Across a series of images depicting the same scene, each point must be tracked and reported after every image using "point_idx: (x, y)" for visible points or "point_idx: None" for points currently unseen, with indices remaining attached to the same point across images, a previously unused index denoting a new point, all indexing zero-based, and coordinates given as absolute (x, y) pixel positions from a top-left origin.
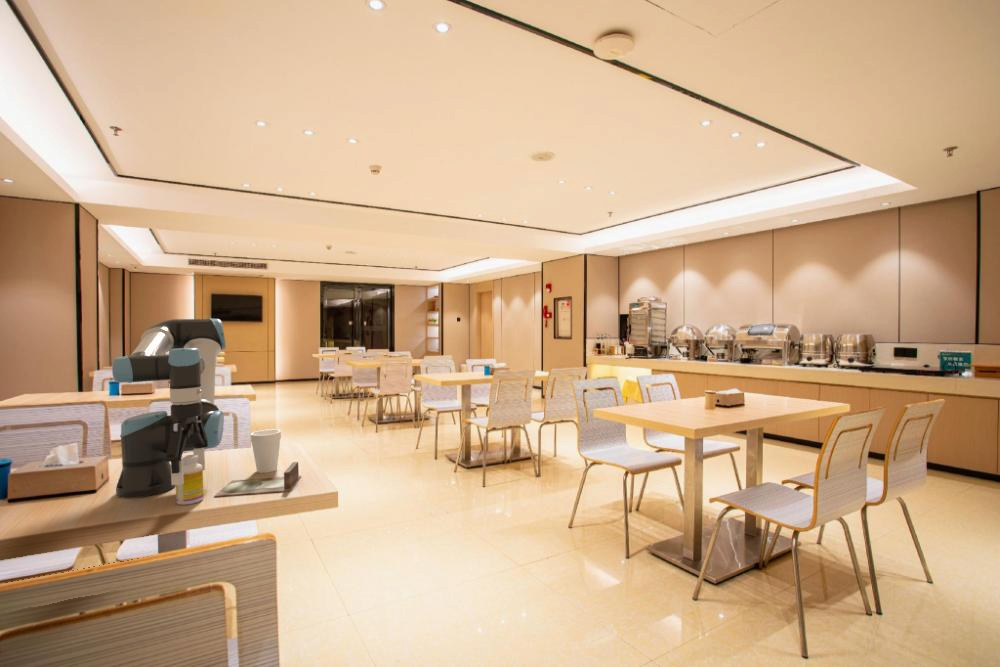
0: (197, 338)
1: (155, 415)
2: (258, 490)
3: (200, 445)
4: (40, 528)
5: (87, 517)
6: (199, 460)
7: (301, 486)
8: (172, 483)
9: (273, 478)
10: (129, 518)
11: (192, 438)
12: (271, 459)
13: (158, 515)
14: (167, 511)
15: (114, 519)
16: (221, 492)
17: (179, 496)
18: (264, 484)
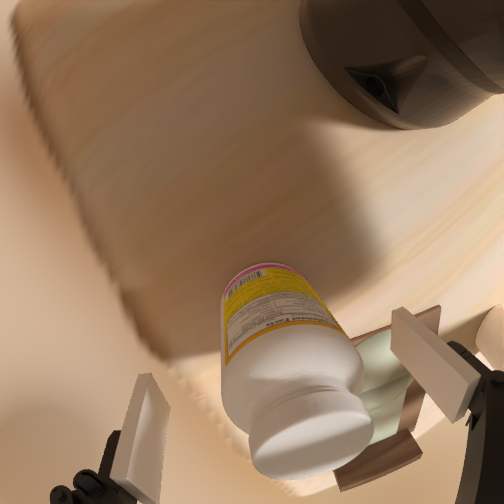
0: None
1: None
2: None
3: (479, 412)
4: (50, 3)
5: (108, 34)
6: (419, 364)
7: None
8: (138, 383)
9: (418, 397)
10: (92, 196)
11: (474, 480)
12: (493, 367)
13: (126, 283)
14: (163, 289)
15: (82, 146)
16: None
17: (221, 312)
18: (376, 413)
